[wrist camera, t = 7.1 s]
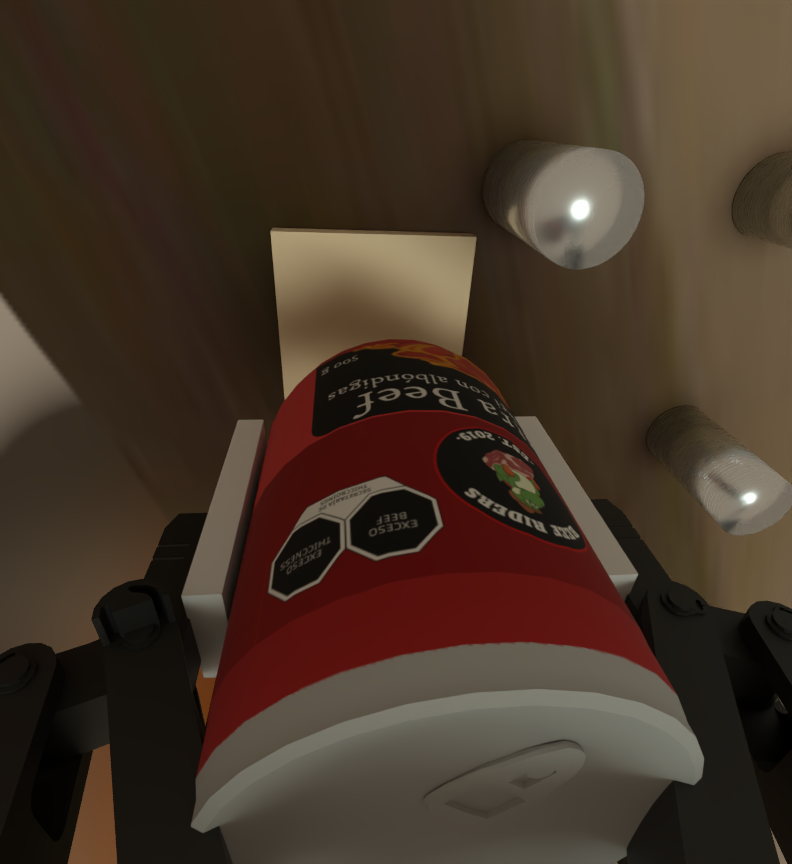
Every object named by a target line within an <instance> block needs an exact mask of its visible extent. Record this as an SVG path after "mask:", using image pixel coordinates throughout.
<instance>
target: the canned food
mask: <svg viewBox="0 0 792 864" xmlns="http://www.w3.org/2000/svg"><path fill="white" fill-rule="evenodd" d="M703 765H704V757H703V754H702V751H701V749H700V746H699V743H698V741H697V738H696V736H695V734H694V733H693V731H692V729H691V727H690V726H689V724H688V722H687V719H686V716H685V714H684V711H683V709H682V706H681V703H680V701H679V698H678V696H677V694H676V692H675V690H674V689H673V687H672V685H671V683H670V682H669V680H668V678H667V677H666V675H665V673H664V671H663V670H662V668H661V666H660V665H659V663H658V661H657V659H656V658H655V656H654V654H653V653H652V651H651V649H650V647H649V646H648V644H647V642H646V640H645V638H644V636H643V633H642V631H641V629H640V627H639V626H638V624H637V622H636V621H635V619H634V617H633V616H632V614H631V612H630V611H629V609H628V607H627V606H626V604H625V602H624V600H623V599H622V597H621V595H620V594H619V592H618V590H617V589H616V587H615V585H614V584H613V582H612V580H611V579H610V577H609V575H608V574H607V572H606V570H605V568H604V567H603V565H602V563H601V562H600V560H599V558H598V557H597V555H596V553H595V552H594V550H593V548H592V547H591V545H590V543H589V541H588V540H587V538H586V536H585V535H584V533H583V531H582V530H581V528H580V526H579V525H578V523H577V521H576V520H575V518H574V516H573V514H572V513H571V511H570V509H569V508H568V506H567V504H566V503H565V501H564V499H563V498H562V496H561V494H560V493H559V491H558V489H557V487H556V486H555V484H554V482H553V481H552V479H551V477H550V476H549V474H548V472H547V471H546V469H545V467H544V466H543V464H542V462H541V461H540V459H539V457H538V455H537V454H536V452H535V450H534V449H533V447H532V445H531V444H530V442H529V440H528V439H527V437H526V435H525V434H524V432H523V430H522V428H521V427H520V425H519V423H518V422H517V420H516V418H515V417H514V415H513V413H512V412H511V410H510V408H509V407H508V405H507V403H506V401H505V400H504V398H503V396H502V395H501V393H500V391H499V390H498V388H497V387H496V386H495V385H494V383H493V382H492V381H491V380H490V378H489V377H488V376H487V375H486V374H485V372H484V371H482V370H481V369H480V368H478V367H477V366H476V365H474V364H473V363H472V362H470V361H469V360H468V359H466V358H464V357H462V356H460V355H458V354H455V353H453V352H451V351H449V350H447V349H444V348H442V347H440V346H437V345H435V344H430V343H426V342H421V341H417V340H404V339H387V340H381V341H374V342H368V343H364V344H361V345H358V346H355V347H352V348H350V349H347V350H344V351H342V352H340V353H338V354H336V355H335V356H333V357H331V358H329V359H328V360H326V361H324V362H323V363H321V364H320V365H319V366H318V367H316V368H315V369H314V370H313V371H312V372H311V373H309V374H308V375H307V376H306V377H305V378H304V379H303V380H302V381H301V382H300V383H299V384H297V385H296V387H295V388H294V389H293V391H292V392H291V393H290V394H289V396H288V397H287V398H286V400H285V401H284V402H283V404H282V405H281V407H280V409H279V411H278V413H277V415H276V417H275V420H274V422H273V424H272V427H271V431H270V436H269V440H268V445H267V449H266V454H265V458H264V463H263V467H262V472H261V476H260V481H259V486H258V490H257V495H256V499H255V504H254V508H253V513H252V517H251V522H250V526H249V531H248V535H247V540H246V545H245V549H244V554H243V558H242V563H241V567H240V572H239V576H238V581H237V585H236V590H235V594H234V599H233V603H232V608H231V613H230V617H229V622H228V626H227V631H226V635H225V640H224V644H223V649H222V653H221V658H220V662H219V667H218V672H217V676H216V681H215V686H214V690H213V694H212V699H211V703H210V708H209V713H208V718H207V722H206V727H205V734H204V743H203V748H202V752H201V757H200V762H199V766H198V771H197V776H196V803H195V808H194V813H193V818H192V822H191V827H192V828H194V829H196V830H198V831H200V832H202V833H205V832H207V831H209V830H211V829H213V828H215V827H217V826H219V827H220V830H221V832H222V835H223V838H224V840H225V843H226V846H227V848H228V851H229V854H230V857H231V860H232V863H233V864H614V863H615V862H617V861H619V860H621V859H622V858H624V857H626V856H627V850H626V848H627V846H628V844H629V842H630V841H631V839H632V837H633V835H634V833H635V832H636V830H637V828H638V826H639V825H640V823H641V821H642V820H643V818H644V817H645V815H646V814H647V812H648V811H649V809H650V808H651V806H652V805H653V803H654V802H655V801H656V800H657V798H658V797H659V796H660V795H661V793H662V792H663V791H664V790H665V789H666V787H667V786H668V785H669V784H670V783H671V782H672V781H673V780H676V781H680V782H683V783H687V784H691V785H695V784H696V783H697V782H698V781H699V780H700V779H701V778H702V773H703Z"/></svg>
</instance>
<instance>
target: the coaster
mask: <svg viewBox="0 0 792 864" xmlns="http://www.w3.org/2000/svg"><path fill="white" fill-rule="evenodd" d="M476 238H477V237H476V236H475V235H474V234H473V233H441V232H405V231H370V230H334V229H299V228H272V230H271V243H272V255H273V267H274V279H275V290H276V302H277V314H278V326H279V338H280V349H281V361H282V373H283V385H284V397H285V400H286V398H287V397H288V396H289V394H290V393H291V392H292V391H293V389H294V388H295V387H296V385H297V384H299V383H300V382H301V381H302V380H303V379H304V378H305V377H306V376H307V375H308V374H309V373H311V372H312V371H313V370H314V369H315V368H316V367H318V366H319V365H320V364H321V363H323V362H324V361H326V360H328V359H329V358H331V357H333V356H335V355H336V354H338V353H340V352H342V351H344V350H347V349H350V348H352V347H355V346H358V345H361V344H364V343H368V342H374V341H381V340H387V339H404V340H417V341H421V342H426V343H430V344H435V345H437V346H440V347H442V348H444V349H447V350H449V351H451V352H453V353H455V354H458V355H460V356H462V351H463V343H464V335H465V327H466V319H467V311H468V303H469V294H470V286H471V278H472V270H473V262H474V254H475V246H476Z"/></svg>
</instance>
